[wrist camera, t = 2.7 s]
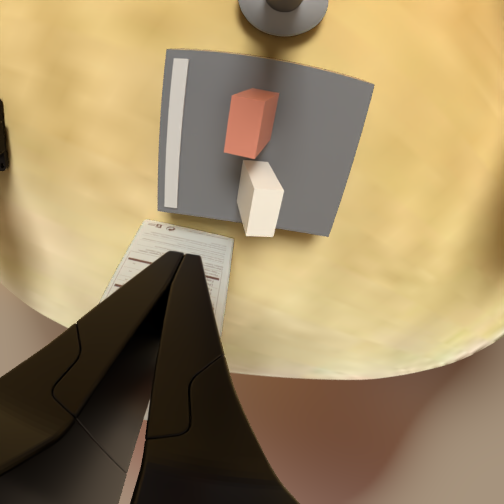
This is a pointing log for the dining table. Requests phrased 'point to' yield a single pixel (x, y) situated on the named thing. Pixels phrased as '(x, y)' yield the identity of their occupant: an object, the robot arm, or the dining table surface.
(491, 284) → the dining table surface
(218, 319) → the supplement box
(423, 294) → the dining table surface
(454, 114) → the dining table surface
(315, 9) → the stand
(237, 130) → the terracotta brick
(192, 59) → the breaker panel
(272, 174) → the cream flat brick
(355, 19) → the dining table surface
